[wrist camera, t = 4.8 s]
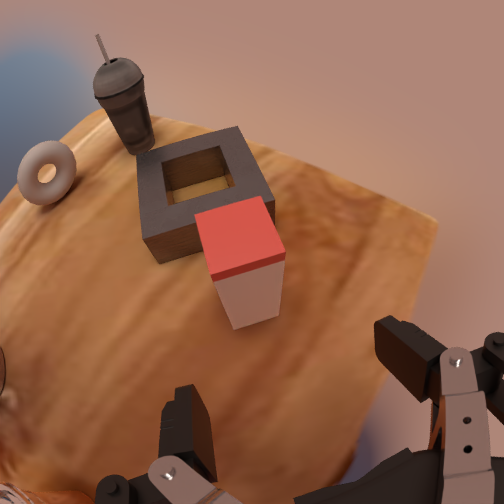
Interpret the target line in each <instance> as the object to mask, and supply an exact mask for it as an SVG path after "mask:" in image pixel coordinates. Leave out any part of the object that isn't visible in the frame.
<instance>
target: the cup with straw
mask: <svg viewBox="0 0 504 504" xmlns="http://www.w3.org/2000/svg"><path fill="white" fill-rule="evenodd" d="M0 504H95V503H94V502H93V501H92V500H91V499H90V498H89V497H88V496H87V495H86V494H84V493H82V492H80V491H77V490H72V491H55V492H30V491H24V490H20V489H19V488H18V487H16V486H14V485H13V484H10V483H7V482H0Z"/></svg>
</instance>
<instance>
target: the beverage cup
mask: <svg viewBox="0 0 504 504" xmlns="http://www.w3.org/2000/svg"><path fill="white" fill-rule="evenodd" d="M96 39H97V41H98V44H99V46H100V49H101V51H102V54H103V56H104V58H105V61H106V63H104V64H103V65H102V66H101V67H100V68H99V69H98V71H97V73H96V75H95V77H94V81H93V89H94V95H95V99H97V100H98V102H99V103H100V105H101V106H102V107H103V108H104V109H105V111H106V113H107V115H108V117H109V119H110V120H111V122H112V124H113V126H114V128H115V129H116V131H117V133H118V135H119V137H120V138H121V140H122V142H123V144H124V145H125V147H126V148H127V150H128V151H129V153H130V154H132V155H139V154H142V153H144V152H147V151H148V150H149V149H151V148H152V147H153V145H154V143H155V140H154V135H153V129H152V124H151V120H150V116H149V111H148V107H147V102H146V97H145V93H144V80H143V78H144V75H143V74H142V72H141V70H140V68H139V67H138V66H137V65H136V64H135V63H134V62H133V61H131V60H129V59H126V58H114V59H111V60H109V58H108V56H107V53H106V51H105V48H104V46H103V44H102V41H101V39H100V36H99V34H97V35H96Z"/></svg>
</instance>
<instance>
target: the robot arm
mask: <svg viewBox="0 0 504 504" xmlns="http://www.w3.org/2000/svg"><path fill="white" fill-rule="evenodd" d="M374 338H375V352H376V355H377V358H378V359H379V361H380V362H381V363H382V364H383V365H384V366H385V367H386V368H387V369H388V370H389V371H390V372H391V373H392V374H393V375H394V376H395V377H396V378H397V379H398V380H399V381H400V382H401V383H402V384H403V385H404V386H405V387H406V388H407V390H408V391H409V392H410V393H411V394H412V395H413V396H414V397H415V398H416V399H417V400H418V401H419V402H420V403H422V402H423V401H425V400H427V399H428V398H430V399H431V400H432V404H431V425H430V439H429V445H428V449H427V450H422V451H417V452H413V453H412V452H411V451H410V450H409V449H408V448H405V449H404V450H402V451H400V452H399V453H397V454H395V455H393V456H391V457H390V458H388V459H386V460H384V461H382V462H381V463H380V464H379V465H377V466H376V467H375V468H374V469H372V470H371V471H370V472H368V473H367V474H366V475H365V476H363V477H362V478H361V479H359V480H357V481H355V482H351V483H346V484H341V485H336V486H331V487H325V488H322V489H319V490H316V491H313V492H310V493H308V494H305V495H302V496H298V497H295V498H293V499H294V502H295V504H504V457H491V456H490V437H489V425H488V416H487V409H488V410H489V411H490V412H491V413H492V414H493V415H494V416H495V417H496V418H497V419H498V420H499V421H500V422H501V423H502V424H503V425H504V380H503V379H502V377H503V374H504V333H500V332H496V333H492V334H489V335H488V336H487V337H486V338H485V342H484V346H483V347H481V348H478V349H476V350H473V351H470V352H469V351H467V350H466V349H464V348H460V347H454V348H450V349H448V348H446V347H445V346H444V345H442V344H441V343H439V342H438V341H437V340H435V339H434V338H433V337H431V336H430V335H427V333H426V332H424V331H423V330H421V329H420V328H419V327H417V326H416V325H414V324H413V323H409V322H406V321H401V322H400V321H398V320H397V319H396V318H394V317H393V316H391V315H389V316H387V317H384V318H382V319H380V320H378V321H376V322H375V323H374ZM4 377H5V364H4V358H3V353H2V350H1V348H0V393H1V391H2V388H3V384H4ZM160 428H161V430H160V440H159V455H158V459H157V460H155V461H154V462H153V463H152V464H151V466H150V467H149V470H148V473H146V474H144V475H142V476H139V477H136V478H133V479H130V480H128V481H127V480H126V479H125V478H124V477H122V476H120V475H110V476H107V477H105V478H103V479H102V480H101V481H100V482H99V484H98V486H97V489H96V497H95V504H243V503H242V502H240V501H239V500H237V499H236V498H234V497H233V496H231V495H230V494H228V493H227V492H225V491H224V490H222V489H218V488H216V487H215V486H213V485H212V484H211V483H213V482H218V480H217V473H216V466H215V458H214V450H213V441H212V432H211V423H210V417H209V414H208V411H207V409H206V407H205V405H204V403H203V401H202V399H201V397H200V395H199V393H198V392H197V390H196V388H195V386H194V385H193V384H191V385H186V386H182V387H178V388H176V389H175V400H174V401H169V402H167V403H166V405H165V407H164V408H163V410H162V415H161V427H160Z"/></svg>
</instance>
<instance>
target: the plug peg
mask: <svg viewBox="0 0 504 504" xmlns="http://www.w3.org/2000/svg"><path fill="white" fill-rule="evenodd" d="M195 219H196V223H197V227H198V231H199V235H200V239H201V242H202V246H203V250H204V254H205V257H206V261H207V265H208V268H209V272H210V275H211V278H212V280H213V283H214V285H215V287H216V290H217V292H218V295H219V297H220V299H221V302H222V304H223V306H224V309H225V311H226V313H227V316H228V318H229V320H230V322H231V325H232V327H233V329H234V330H236V329H239V328H242V327H245V326H249V325H252V324H255V323H258V322H261V321H264V320H267V319H270V318H273V317H276V316H279V310H280V301H281V292H282V283H283V274H284V264H285V254H286V251H285V249H284V247H283V244H282V242H281V240H280V238H279V235H278V233H277V231H276V229H275V226H274V224H273V222H272V220H271V217H270V215H269V213H268V211H267V208H266V206H265V204H264V202H263V200H262V197H261V196H257V197H254V198H250V199H247V200H243V201H239V202H236V203H232V204H229V205H225V206H222V207H218V208H215V209H212V210H208V211H205V212H202V213H198V214H195Z"/></svg>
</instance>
